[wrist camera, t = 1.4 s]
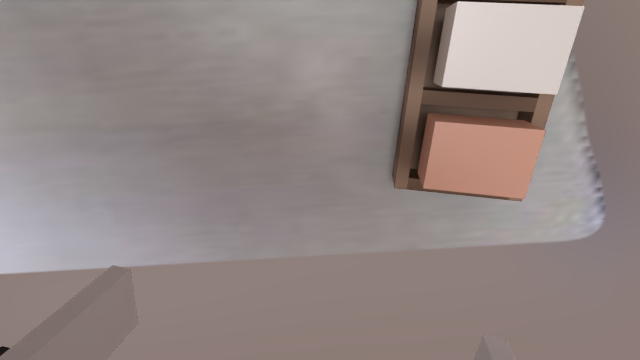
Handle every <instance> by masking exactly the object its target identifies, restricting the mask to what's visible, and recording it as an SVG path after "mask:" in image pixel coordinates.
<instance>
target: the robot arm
mask: <svg viewBox="0 0 640 360" xmlns="http://www.w3.org/2000/svg"><path fill="white" fill-rule="evenodd" d="M137 324H138V317H137V310H136V303H135V296H134V289H133V282H132V276H131V269H128V268H123V267H118V266H111V267H110V268H109V269H107V270H106V271H105V272H104V273H103V274H102V275H100V276H99V277H98V278H96V279H95V280H94V281H93V282H91V283H90V284H89V285H88V286H87V287H85V288H84V289H83V290H82V291H80V292H79V293H78V294H77V295H76V296H74V297H73V298H72V299H70V300H69V301H68V302H67V303H65V304H64V305H63V306H62V307H61V308H59V309H58V310H57V311H56V312H54V313H53V314H52V315H51V316H50V317H48V318H47V319H46V320H45V321H43V322H42V323H41V324H40V325H38V326H37V327H36V328H35V329H33V330H32V331H31V332H30V333H29V334H27V335H26V336H25V337H24V338H22V339H21V340H20V341H19V342H17V343H16V344H15V345H14V346H12V347H11V348H7V347H3V346H2V347H0V360H107V359H108V358H109V356H110V355H111V354H112V353H113V352H114V351H115V350H116V348H117V347H118V346H119V345H120V344H121V343H122V342H123V340H124V339H125V338H126V337H127V336H128V335H129V333H130V332H131V331H132V330H133V329H134V328H135V327H136V326H137ZM474 360H516V359H515V357H514V355H513V353H512V351H511V349H510V347H509V345H508V342H507V340H506V339H500V338H495V337H490V336H485V335H483V337H482V339H481V342H480V345H479V347H478V350H477V352H476V355H475V358H474Z"/></svg>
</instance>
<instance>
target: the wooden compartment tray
mask: <svg viewBox="0 0 640 360" xmlns="http://www.w3.org/2000/svg"><path fill="white" fill-rule="evenodd" d="M457 1H461V2H487V3H514V4H540V5H566V6H583V3H584V0H418V2H417V9H416V16H415V23H414V30H413V37H412V44H411V51H410V58H409V65H408V71H407V78H406V85H405V92H404V99H403V106H402V113H401V120H400V127H399V134H398V141H397V148H396V155H395V161H394V168H393V175H392V176H393V182H394V188H399V189H409V190H418V191H428V192H437V193H447V194H456V195H466V196H475V197H485V198H494V199H504V200H513V201H522V199H520V198H511V197H501V196H491V195H482V194H472V193H463V192H453V191H443V190H434V189H424V188H423V187H422V184H421V181H420V178H419V176H418V173H417V172H418V167H419V161H420V155H421V149H422V144H423V138H424V132H425V126H426V121H427V115H428V113H437V114H450V115H463V116H475V117H488V118H501V119H514V120H525V121H527V122H529V123H531V124H533V125H535V126H538V127H540V128H542V129H544V128H545V125H546V122H547V118H548V115H549V112H550V109H551V106H552V102H553V99H554V96H555V95H554V94H539V93H524V92H509V91H495V90H480V89H465V88H451V87H441V86H439V85H437V84H435V83H433V80H434V74H435V69H436V63H437V57H438V51H439V46H440V40H441V34H442V28H443V23H444V17H445V11H446V8H447V7H449V6H451V5H452V4H454V3H456V2H457Z"/></svg>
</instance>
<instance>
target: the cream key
mask: <svg viewBox="0 0 640 360" xmlns="http://www.w3.org/2000/svg"><path fill="white" fill-rule="evenodd" d="M583 10H584V6H566V5H540V4H514V3H487V2H461V1H457V2H456V3H454V4H452V5H451V6H449V7H447V8H446V11H445V17H444V23H443V28H442V34H441V40H440V46H439V51H438V57H437V63H436V69H435V74H434V80H433V83H435V84H437V85H439V86H441V87H451V88H465V89H480V90H495V91H509V92H524V93H539V94H554V95H557V93H558V90H559V87H560V84H561V81H562V77H563V74H564V71H565V68H566V65H567V61H568V58H569V55H570V52H571V49H572V45H573V42H574V39H575V36H576V33H577V29H578V26H579V23H580V20H581V17H582V13H583Z"/></svg>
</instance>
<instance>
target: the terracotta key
mask: <svg viewBox="0 0 640 360" xmlns="http://www.w3.org/2000/svg"><path fill="white" fill-rule="evenodd" d="M545 132H546V130H544V129H542V128H540V127H538V126H535V125H533V124H531V123H529V122H527V121H525V120H514V119H501V118H488V117H475V116H463V115H450V114H437V113H428V115H427V121H426V126H425V132H424V138H423V144H422V149H421V155H420V161H419V167H418V172H417V173H418V176H419V178H420V181H421V184H422V187H423V188H424V189H434V190H443V191H453V192H463V193H472V194H482V195H491V196H501V197H511V198H520V199H525V196H526V193H527V190H528V186H529V183H530V180H531V177H532V174H533V170H534V167H535V164H536V161H537V158H538V154H539V151H540V148H541V145H542V142H543V138H544V135H545Z"/></svg>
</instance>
